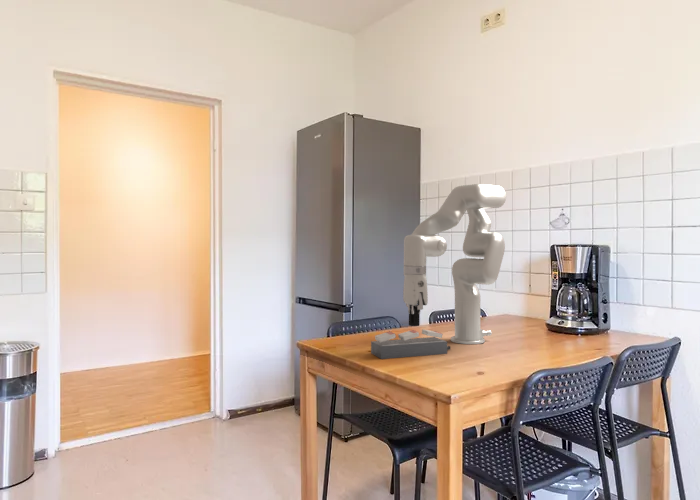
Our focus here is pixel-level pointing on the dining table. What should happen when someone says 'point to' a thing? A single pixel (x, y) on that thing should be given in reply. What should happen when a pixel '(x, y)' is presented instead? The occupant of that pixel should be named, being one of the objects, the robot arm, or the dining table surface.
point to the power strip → (409, 347)
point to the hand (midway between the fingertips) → (414, 325)
